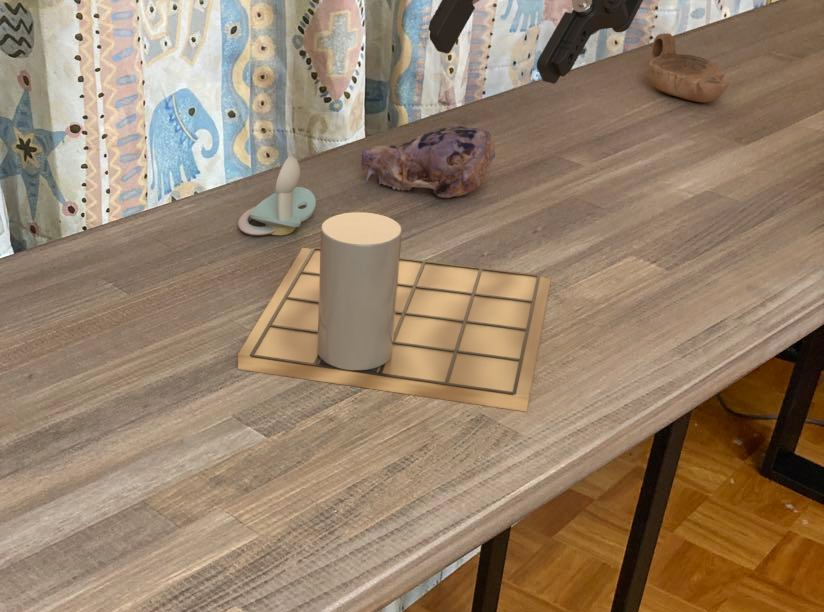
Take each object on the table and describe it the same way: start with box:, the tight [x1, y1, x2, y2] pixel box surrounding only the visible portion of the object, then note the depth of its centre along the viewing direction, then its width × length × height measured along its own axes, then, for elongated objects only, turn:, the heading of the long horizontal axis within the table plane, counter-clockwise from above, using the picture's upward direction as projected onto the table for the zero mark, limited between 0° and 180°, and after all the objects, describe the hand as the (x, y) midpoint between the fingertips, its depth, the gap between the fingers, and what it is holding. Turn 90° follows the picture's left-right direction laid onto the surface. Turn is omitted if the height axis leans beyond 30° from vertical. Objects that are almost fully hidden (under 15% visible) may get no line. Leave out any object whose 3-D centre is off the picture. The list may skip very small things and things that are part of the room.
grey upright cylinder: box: [317, 211, 403, 370], centre depth 75 cm, size 5×5×9 cm
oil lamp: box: [648, 32, 730, 103], centre depth 125 cm, size 13×8×5 cm, turn 12°
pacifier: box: [237, 155, 317, 236], centre depth 95 cm, size 7×6×6 cm
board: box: [237, 246, 552, 412], centre depth 83 cm, size 20×18×1 cm
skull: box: [360, 125, 496, 199], centre depth 103 cm, size 12×8×6 cm, turn 68°
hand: (489, 60), depth 73 cm, fingers open, 8 cm apart
